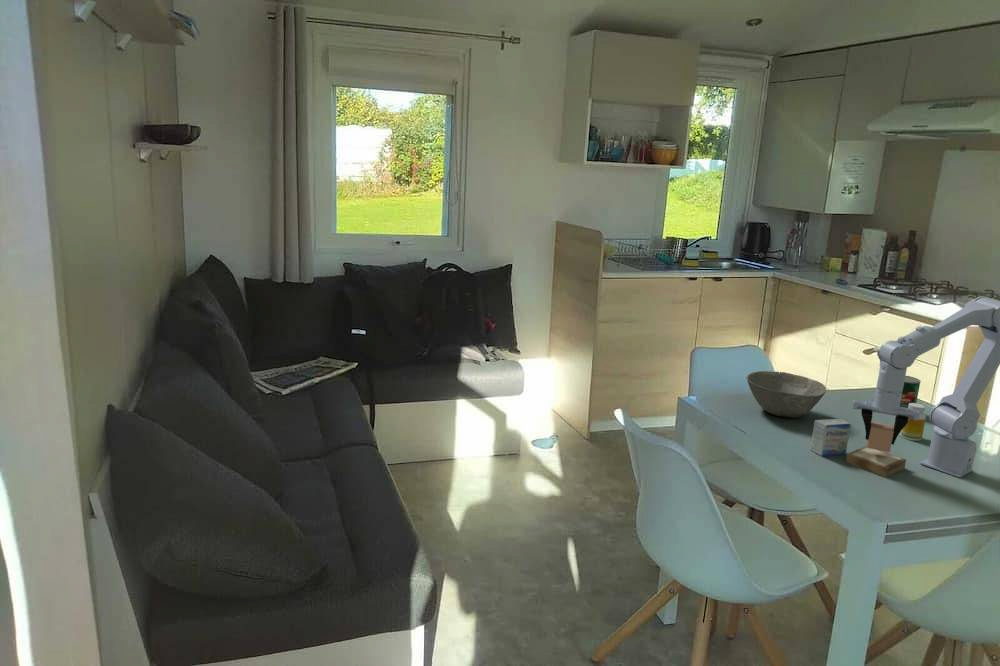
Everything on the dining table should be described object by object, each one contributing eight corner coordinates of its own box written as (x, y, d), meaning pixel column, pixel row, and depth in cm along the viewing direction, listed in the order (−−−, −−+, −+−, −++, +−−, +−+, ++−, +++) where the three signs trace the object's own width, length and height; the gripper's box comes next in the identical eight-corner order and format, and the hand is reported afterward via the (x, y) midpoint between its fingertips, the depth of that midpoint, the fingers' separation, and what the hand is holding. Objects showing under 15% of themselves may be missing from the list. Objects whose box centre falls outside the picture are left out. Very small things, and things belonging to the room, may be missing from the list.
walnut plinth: (904, 468, 180) (906, 458, 179) (885, 477, 174) (887, 467, 173) (865, 454, 187) (866, 445, 187) (845, 462, 181) (847, 453, 181)
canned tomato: (907, 408, 225) (913, 375, 222) (918, 417, 218) (925, 383, 215) (881, 406, 226) (887, 373, 223) (891, 415, 218) (898, 381, 216)
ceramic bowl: (798, 433, 200) (803, 399, 198) (727, 408, 217) (731, 377, 215) (836, 417, 214) (841, 386, 212) (766, 396, 231) (771, 366, 229)
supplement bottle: (924, 442, 198) (931, 409, 195) (903, 440, 199) (909, 407, 196) (917, 435, 203) (924, 403, 200) (897, 433, 204) (903, 401, 201)
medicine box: (820, 456, 184) (826, 425, 182) (809, 449, 189) (814, 419, 187) (846, 454, 187) (851, 423, 184) (834, 448, 191) (839, 417, 189)
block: (889, 445, 180) (893, 425, 179) (889, 452, 176) (893, 431, 175) (867, 441, 183) (870, 421, 181) (867, 447, 178) (871, 427, 177)
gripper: (921, 390, 176) (911, 441, 179) (857, 380, 182) (848, 429, 185) (923, 398, 170) (913, 451, 173) (856, 387, 176) (847, 438, 179)
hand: (879, 440), depth 179 cm, fingers closed on block, 5 cm apart
